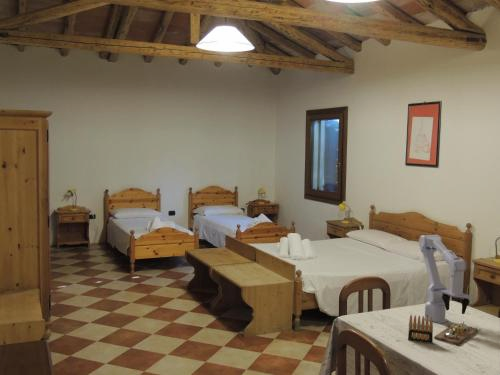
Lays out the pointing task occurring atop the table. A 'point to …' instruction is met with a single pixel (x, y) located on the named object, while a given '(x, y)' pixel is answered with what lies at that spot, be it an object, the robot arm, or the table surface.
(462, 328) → the wooden gear
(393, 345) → the table surface
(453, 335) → the mounted gears
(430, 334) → the ammunition clip
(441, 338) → the gear board
